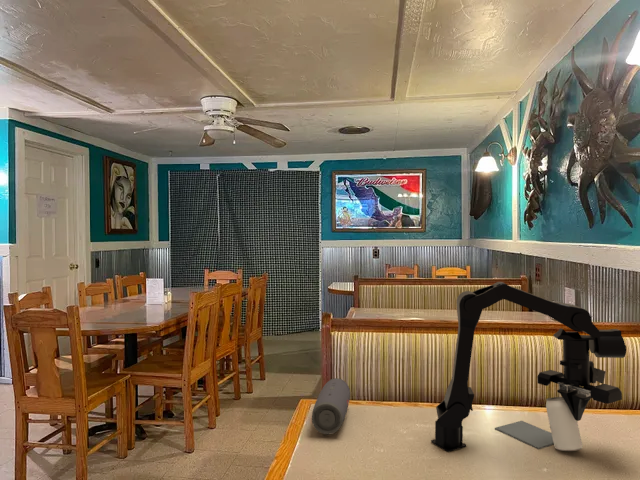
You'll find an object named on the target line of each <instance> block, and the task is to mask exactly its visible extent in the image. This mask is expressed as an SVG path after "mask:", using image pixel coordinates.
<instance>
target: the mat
mask: <svg viewBox="0 0 640 480" xmlns="http://www.w3.org/2000/svg"><path fill="white" fill-rule="evenodd" d="M494 430H496V431H498V432H500V433H502V434H504V435H506V436H509V437H511V438H513V439H515V440H518V441H519V442H521V443H524V444H526V445H528V446H530V447H532V448H534V449H536V450H542V449H544V448H548V447H551V446H554V443H553V438H552V433H551V431H548V430H546V429H543V428H540V427H539V426H536V425H533V424H531V423H529V422H526V421H524V420H519V421H515V422H511V423H508V424H505V425H504V424H503V425H499V426H496V427H494Z"/></svg>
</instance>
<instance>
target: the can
mask: <svg viewBox="0 0 640 480" xmlns="http://www.w3.org/2000/svg"><path fill="white" fill-rule="evenodd" d="M545 409H546V414H547V418H548V425H549V428H550V432H551V433H552V438H553V443H554V445H553V446H554V448H555V449H556V450H557V451H561V452H577V451H580V450H583V449H582V448H583V445H584V444H583V441H582V437H581V432H580V428H579V423H578V422H579V421H577V420H575V419H574V417H573V415H572V413H571V411H570V409H569V407H568V405H567V404H566V402H565V400H564V399H563V397H562V396H554V397H548V398H546V404H545Z"/></svg>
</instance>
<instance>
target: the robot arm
mask: <svg viewBox="0 0 640 480" xmlns="http://www.w3.org/2000/svg"><path fill="white" fill-rule="evenodd" d="M503 300H505V301H508V302H511V303H513V304H516V305H518V306H521V307H523V308H526V309H530V310H532V311H534V312H537V313H540V314H543V315H545V316H548V317H549V318H551V319H552V320H555V321H557V322H558V323H560V324H562V325H563V326H565V327H566V328H569V329H571V330H573V331H565V329H563V328H559V329H558V331H556V332H555V333H554V334H553V337H554V338H555V339H557V340H559V341H562V360H559V365H560V366H563V372H561V371H557V370H554V369H549V370H544V371H539V373H538V374H537V376H536V382H537V384H539V385H542V386H545V387H547V386H549V385H551V383H554V384H557V385H558V389H557V390H556V392H557V394H560V395H561V396H560V397H563V399H564V400H565V402H566V404H567V405H568V407H569V409H570V411H571V413H572V415H573V417H574V419H575V420H577V422H579V421H581V420H582V417H583V415H584V413H585V410H586V407H587V405H588V403H589V402H590V401H591V399H592V400H593V401H595V402H599V403H602V404H607V405H608V404H612V403H616V402H618V401H621V400H623V392H622V390H621V389H620V387H617V386H614V385H611V384H607V383H604V382H605V377H606V373H607V371H605V370H602V369H599V368H597V367H595V366H594V365H595V364H594V361H592V360H590V353H591V354H594V356H595V357H596V358H597V359H600V358H602V359H603V358H604V359H605V358H609V359H612V358H613V359H617V358H618V359H623V358H625V357H626V355H627V345H626V343H625V339H624V337H623V335H622V330H620V329H618V328H612V329H598V327H597V326H596V325H595V323H593V319H592V315H591V313H590V312H589V311H588V310H587V309H585V308H582V307H580V306H578V305H576V304H570V303H565V302H559V301H553V300H550V299H547V298H543V297H541V296H538V295H536V294H533V293H530V292H527V291H525V290H523V289H520V288H516V287H514V286H511V285H508V284H507V283H505V282H503V281H497V282H494V284H491V285H488V286H485V287H481V288H479V289H475V290H473V291H470V290H465V291H462V292H460V293H459V294H458V296H457V298H456V313H457V323H458V324H457V325H458V328H457V334H456V335H457V336H456V341H455V342H456V343H455V349H454V350H455V352H454V359H453V368H452V376H451V379H450V381H449V384H448V385H447V387H446V388H447V389H446V392H445V395H444V399H443V400H442V401H441V402H440V403H438V404H437V406H436V407H435V408H436V409H435V410H436V415H437V419H436V420H435V422H434V425H435V428H434V429H435V433H434V436H435V437H434V438H433V439H431V440H430V443H432V444H434V445H435V446H436V447H438V448H440V449H442V450H443V451H445V452H447V453H449V452H454V451H456V450H460V449H464V448H467V444H466V443H464V442H463V440H464V439H463V438H464V437H463V436H464V435H463V431H464V426H463V420H465V419H466V418H468V417H469V415H470V412H472V411H474V409H473V402H474V397H475V393H474V390H473V389H472V387H471V386H470V387H469V376H470V369H471V360H472V354H473V352H472V351H473V346H474V345H473V344H474V338H475V331H476V328H477V325H478V323H479V321H480V319H481V315H482V312H483V310H484V309H487V308H489V307H491V306H492V305H493V306H494V304H496V303H498V302H500V301H503ZM580 332H581V333H582V332H583V333H585V335H584V334H580ZM597 382H598V383H599V384H598V385H592V384H596V383H597Z"/></svg>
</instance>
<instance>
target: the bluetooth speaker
mask: <svg viewBox="0 0 640 480" xmlns="http://www.w3.org/2000/svg"><path fill="white" fill-rule="evenodd" d="M350 398H351V390H350V387H349V385H348V383H347V382H346V381H345V380H343V379H341V378H337V377H336V378H331V379H329V380H328V381H327V382H326V383H325V384H324V386H323V387H322V388H321V390H320V392H319V394H318V396H317V398H316V401H315V402H314V403H315V404H314V405H313V409H312V412H311V423H312V426H313V427H314V429H315V430H316V431H317V432H318V433H321V434H325V435H331V434H335V433H337V432H338V431H339V430H340V428H341V427H342V426H343V423H344V421H345V418H346V415H347V411H348V408H349V404H350Z"/></svg>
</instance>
